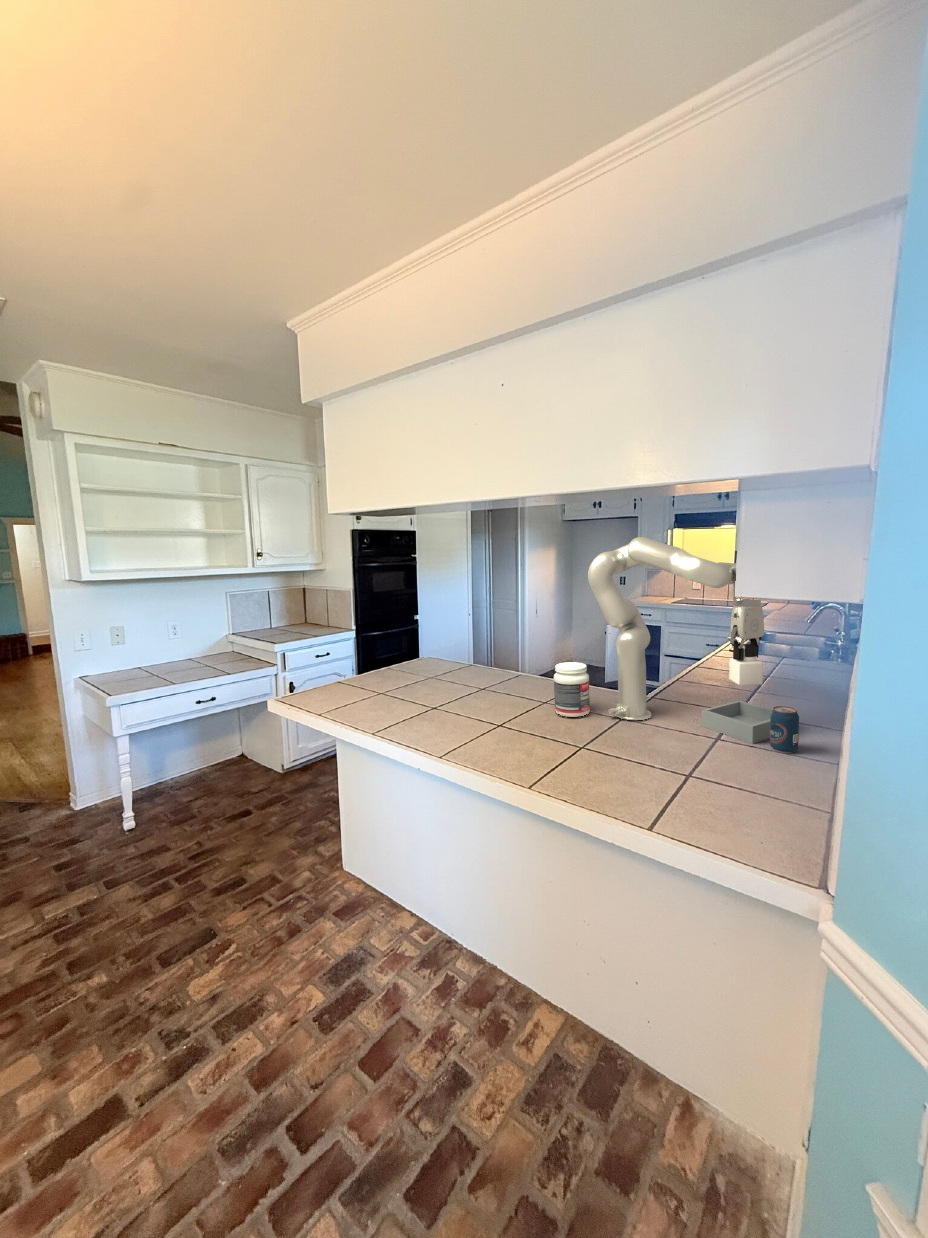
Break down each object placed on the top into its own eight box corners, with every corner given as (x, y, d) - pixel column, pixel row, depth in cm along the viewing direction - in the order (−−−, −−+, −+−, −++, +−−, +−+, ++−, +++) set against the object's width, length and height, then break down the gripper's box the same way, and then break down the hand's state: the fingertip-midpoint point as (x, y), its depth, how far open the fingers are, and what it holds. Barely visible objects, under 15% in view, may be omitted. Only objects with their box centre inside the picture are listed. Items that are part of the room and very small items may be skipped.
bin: (752, 744, 147) (752, 726, 146) (701, 726, 163) (701, 710, 162) (791, 731, 154) (791, 714, 153) (738, 715, 170) (738, 700, 169)
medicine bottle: (751, 678, 159) (752, 642, 158) (763, 684, 152) (763, 646, 151) (728, 679, 160) (729, 643, 158) (738, 685, 153) (739, 647, 151)
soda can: (764, 747, 144) (764, 708, 142) (780, 742, 146) (781, 704, 145) (786, 756, 137) (787, 714, 136) (804, 751, 140) (805, 710, 138)
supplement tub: (591, 719, 176) (590, 669, 173) (555, 719, 178) (553, 670, 175) (588, 707, 188) (587, 661, 186) (554, 708, 190) (552, 661, 188)
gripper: (738, 605, 146) (737, 664, 148) (776, 600, 153) (775, 656, 155) (716, 604, 153) (716, 660, 155) (754, 598, 160) (752, 652, 162)
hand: (745, 658), depth 155 cm, fingers closed on medicine bottle, 6 cm apart
